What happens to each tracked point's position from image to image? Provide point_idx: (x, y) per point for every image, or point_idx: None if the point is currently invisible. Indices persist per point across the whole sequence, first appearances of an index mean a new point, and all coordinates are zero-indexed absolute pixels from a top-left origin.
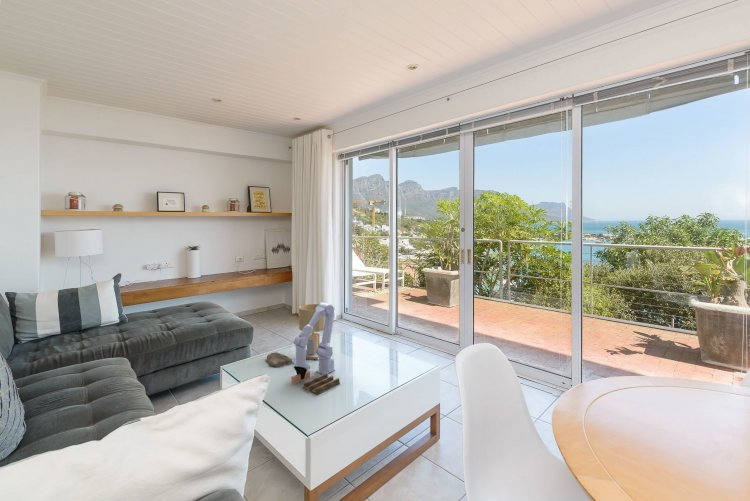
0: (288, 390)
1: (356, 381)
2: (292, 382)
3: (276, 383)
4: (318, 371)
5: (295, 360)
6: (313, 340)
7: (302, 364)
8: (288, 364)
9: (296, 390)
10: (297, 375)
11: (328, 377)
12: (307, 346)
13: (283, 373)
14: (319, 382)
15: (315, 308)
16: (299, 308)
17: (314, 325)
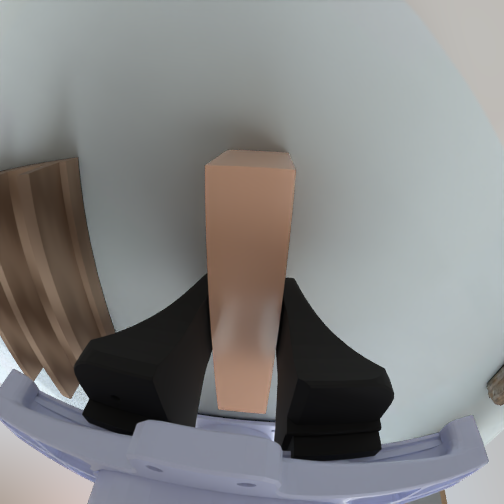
0: (157, 14)
1: (43, 390)
2: (267, 153)
3: (435, 54)
4: (253, 427)
5: (432, 488)
6: None
7: (96, 484)
8: (501, 368)
9: (90, 83)
10: (245, 273)
11: (52, 374)
12: (439, 495)
13: (500, 275)
14: (3, 289)
15: None
16: None
17: None
